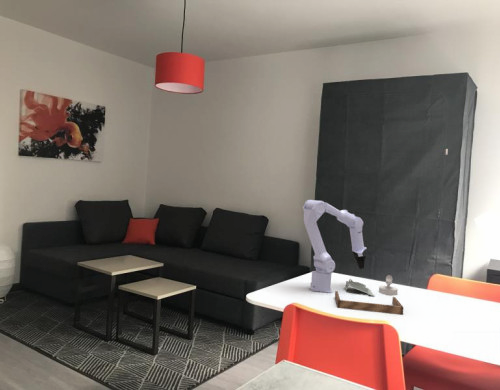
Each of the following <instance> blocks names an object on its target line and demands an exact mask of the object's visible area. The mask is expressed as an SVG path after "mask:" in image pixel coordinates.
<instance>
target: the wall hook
mask: <svg viewBox="0 0 500 390" xmlns="http://www.w3.org/2000/svg"><path fill="white" fill-rule="evenodd" d="M392 283H393V277H392V275H389V274H388V275H386V277H385V284H386V285H379V287H378V293H379V294H382V295H387V296H397V295H398V291H399V289H398V288H397V287H394V286H391V285H392Z"/></svg>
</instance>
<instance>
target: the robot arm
mask: <svg viewBox="0 0 500 390" xmlns="http://www.w3.org/2000/svg"><path fill="white" fill-rule="evenodd" d="M302 209H303V223H304V226H305V230H306V233H307V235H308V238H309V241H310V244H311V247H312V250H313V252H314V255H313V256H312V257H313V266H314V267H315V270H312V271H311V281H310V285H309V286H310V290H311V291H312V292H320V293H329V294H330V293H332V289H331V284H332V274H333V272H334V270H335V269H336V263H335V260H333V259H332V257H331V255H330V254H329V253H328V252H327V249H326V247H325V244H324V241H323V238H322V235H321V232H320V230H319V227H318V223H317V222H318V220H319V219H320V218H321V216H322V215H323V214H324V213H328V214H330V215H331V216H335V217H336V220H337V221H339V222H340V223H342V224H344V225H346V227H347V228H349V234H350V241H351V247H352V248H351V251H352V253H353V257H354V259H355V260H356V263H357V265H358V268H359V270H363V269H364V268H365V261H366V257H367V254H363V253H364V251H365V250H367V247H366V246H365V245H364V239H363V238H364V236H363V226H364V221H363V219H362V218H361V217H359V216H356V215H355V213H350V212H348V210H347V209H342V210H339V209H337V208H336V207H334V206H333V205H331V204H329V203H328V202H326V201H325V202H324V200H314V199H307V200H306V201H305V202H304V205H303V206H302Z"/></svg>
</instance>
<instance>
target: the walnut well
mask: <svg viewBox="0 0 500 390" xmlns="http://www.w3.org/2000/svg"><path fill="white" fill-rule="evenodd" d="M334 299H335V303H336V307H337V308H340V309H348V310H355V311H356V310H358V311H365V312H366V311H367V312H377V313H383V314H384V313H385V314H393V315H394V314H396V315H404V306H403V304H402V303H401V302H400V301H399V300H398V299H397V298H396V297H395V296H392V301H391V304H385V303H384V304H383V303H372V302H363V301H353V300H343V299H341V296H340V295H339V292H338V290H337V291H336V290H335V293H334Z"/></svg>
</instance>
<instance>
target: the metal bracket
mask: <svg viewBox="0 0 500 390" xmlns="http://www.w3.org/2000/svg"><path fill="white" fill-rule="evenodd" d="M345 282H346V283H345V287H343V290H345V292H347V290H348V287H350V288H352V289H355V290H358V291H359V292H362V293H365V294H367V295H368V296H371V297H373V298H375V297H376V296H375V294H374V293H373V292H372V291H371V290H370V288H368V287H367V286H366V284H363V283H361V282H358V281H353V279H350V278H349V279H348V280H346V281H345Z"/></svg>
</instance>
